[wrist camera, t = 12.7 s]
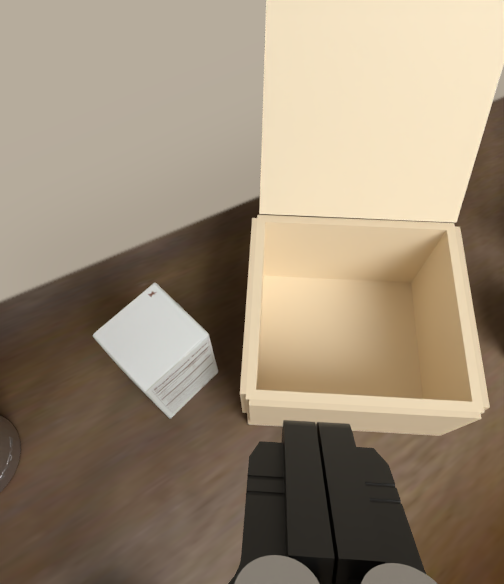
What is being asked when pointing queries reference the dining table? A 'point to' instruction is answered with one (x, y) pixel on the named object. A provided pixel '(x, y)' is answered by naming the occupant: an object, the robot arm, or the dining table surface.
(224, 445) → the dining table surface
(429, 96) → the top flap
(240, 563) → the robot arm
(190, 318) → the supplement box
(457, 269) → the carton
